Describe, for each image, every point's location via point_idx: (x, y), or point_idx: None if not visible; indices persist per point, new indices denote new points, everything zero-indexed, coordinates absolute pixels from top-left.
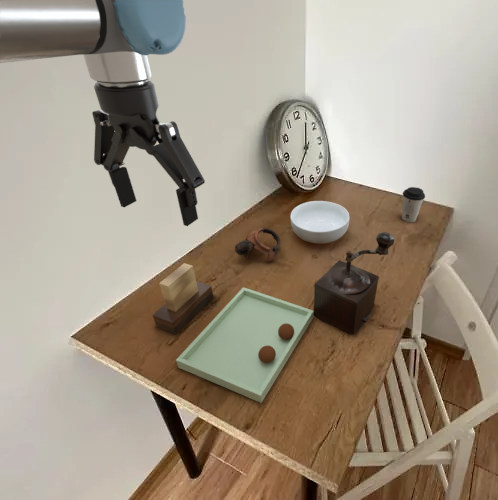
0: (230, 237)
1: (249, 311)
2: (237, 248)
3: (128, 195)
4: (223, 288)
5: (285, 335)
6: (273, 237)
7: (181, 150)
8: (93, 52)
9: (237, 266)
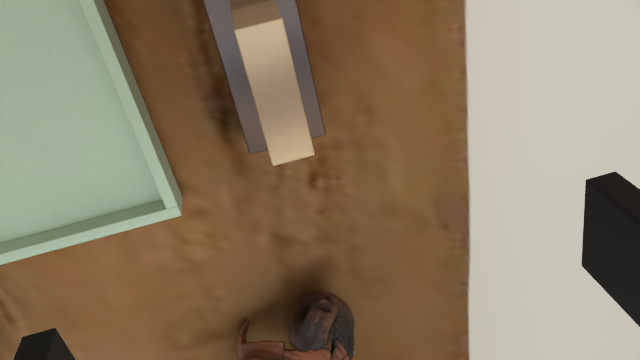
0: (427, 315)
1: (92, 163)
2: (319, 308)
3: (627, 269)
4: (256, 174)
5: None
6: None
7: None
8: None
9: (304, 256)
